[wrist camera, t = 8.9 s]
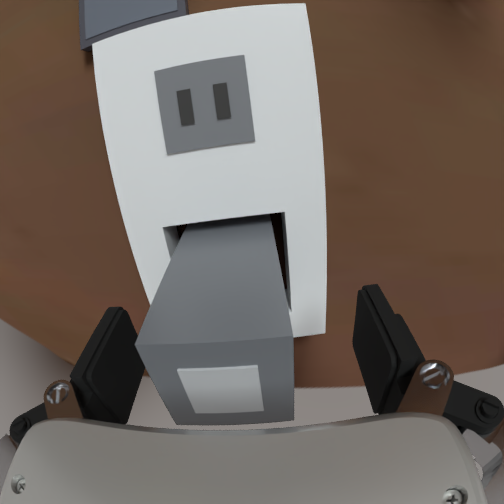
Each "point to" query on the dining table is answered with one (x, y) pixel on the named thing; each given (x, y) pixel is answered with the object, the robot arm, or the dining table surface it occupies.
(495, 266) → the dining table surface
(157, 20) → the phone
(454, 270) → the dining table surface
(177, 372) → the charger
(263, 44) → the outlet plate
